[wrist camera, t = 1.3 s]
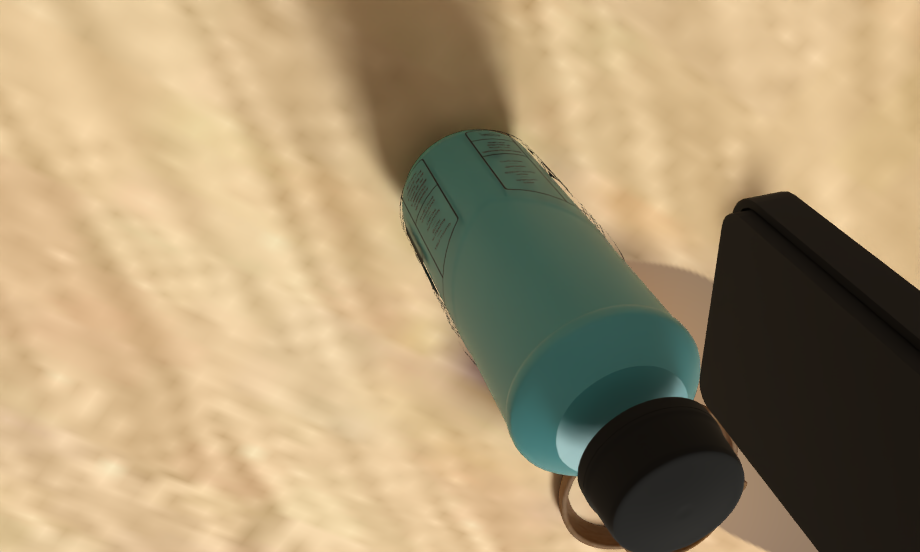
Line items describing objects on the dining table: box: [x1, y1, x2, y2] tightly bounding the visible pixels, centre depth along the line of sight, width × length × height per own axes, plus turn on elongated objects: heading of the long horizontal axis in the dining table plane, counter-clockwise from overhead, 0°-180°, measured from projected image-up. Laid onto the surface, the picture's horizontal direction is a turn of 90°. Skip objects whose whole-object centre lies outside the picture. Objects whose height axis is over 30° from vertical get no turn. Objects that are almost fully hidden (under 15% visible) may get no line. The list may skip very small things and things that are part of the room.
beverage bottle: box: [400, 130, 744, 552], centre depth 29 cm, size 6×7×20 cm
